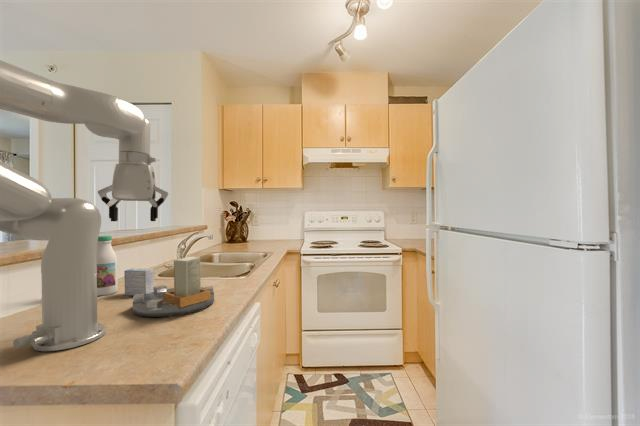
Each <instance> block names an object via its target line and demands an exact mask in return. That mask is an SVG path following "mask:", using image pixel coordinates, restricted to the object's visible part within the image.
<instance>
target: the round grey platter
mask: <svg viewBox="0 0 640 426" xmlns="http://www.w3.org/2000/svg"><path fill="white" fill-rule="evenodd" d="M214 301H215V291H214V287H213V286H212V285H211V286H204V287H201V292H200V293H196V294H192V295H188V296H184V297H180V296H176V295H174V287H173V288H171V287H170V288H168V289H167V285H164V284H163V285H157V286H154V287H153V292H151V293H148V294H145V293H142V294H135V295H133V299H132V312H133V314H135V315H137V316H140V317H148V318H161V317H172V316H180V315H185V314H189V313H193V312H197V311H200V310H202V309H205V308H207V307H209V306H211V305H212V304H213V303H214Z"/></svg>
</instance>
